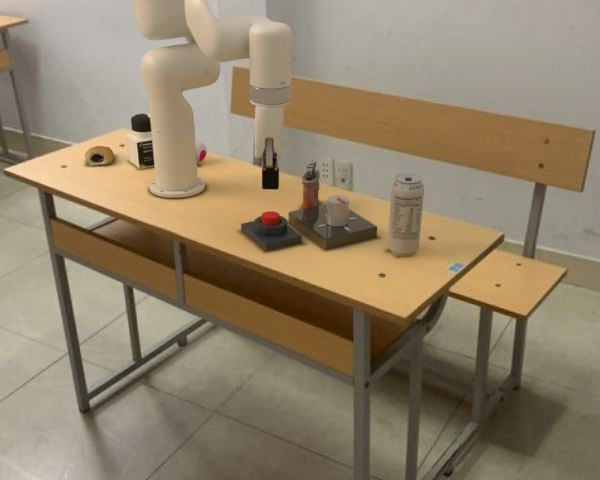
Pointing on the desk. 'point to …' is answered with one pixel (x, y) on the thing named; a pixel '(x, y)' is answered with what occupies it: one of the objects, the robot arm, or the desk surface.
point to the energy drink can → (405, 214)
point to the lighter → (310, 186)
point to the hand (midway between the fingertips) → (270, 187)
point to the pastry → (99, 156)
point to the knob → (337, 210)
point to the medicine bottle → (141, 142)
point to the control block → (271, 234)
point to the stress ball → (200, 151)
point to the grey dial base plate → (331, 227)
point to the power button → (270, 218)
